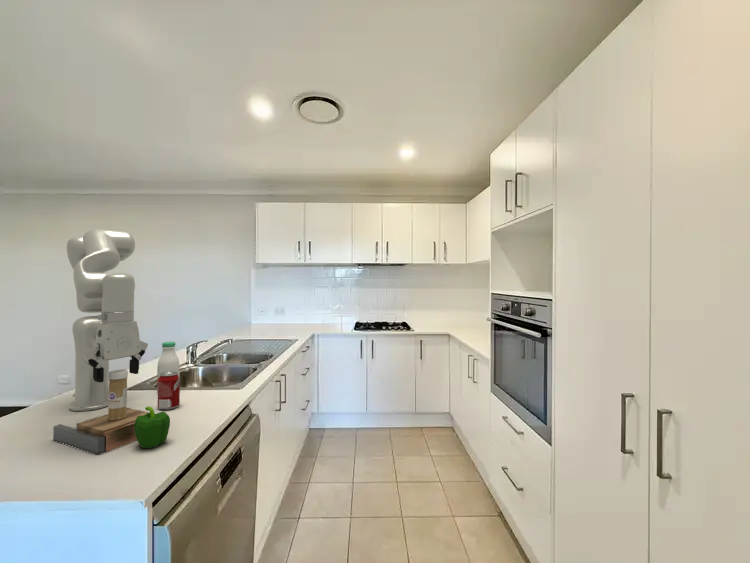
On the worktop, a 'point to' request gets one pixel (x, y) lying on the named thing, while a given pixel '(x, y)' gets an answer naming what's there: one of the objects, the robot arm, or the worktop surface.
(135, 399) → the worktop surface
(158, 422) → the bell pepper
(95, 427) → the slab
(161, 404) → the soda can
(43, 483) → the worktop surface
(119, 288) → the robot arm
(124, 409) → the sprinkles bottle
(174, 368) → the milk bottle
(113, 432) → the roller track
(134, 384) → the worktop surface
